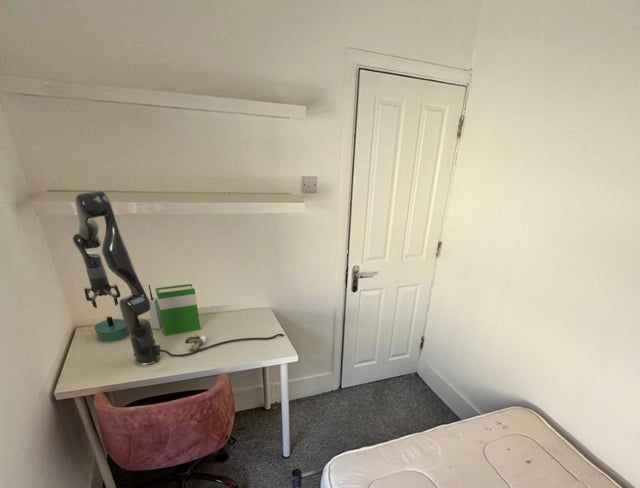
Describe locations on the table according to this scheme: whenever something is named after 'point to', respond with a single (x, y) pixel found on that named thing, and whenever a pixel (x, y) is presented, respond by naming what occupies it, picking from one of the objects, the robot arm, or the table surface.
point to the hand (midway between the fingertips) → (106, 306)
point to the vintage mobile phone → (155, 312)
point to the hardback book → (178, 308)
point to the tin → (113, 335)
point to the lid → (110, 325)
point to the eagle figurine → (197, 341)
